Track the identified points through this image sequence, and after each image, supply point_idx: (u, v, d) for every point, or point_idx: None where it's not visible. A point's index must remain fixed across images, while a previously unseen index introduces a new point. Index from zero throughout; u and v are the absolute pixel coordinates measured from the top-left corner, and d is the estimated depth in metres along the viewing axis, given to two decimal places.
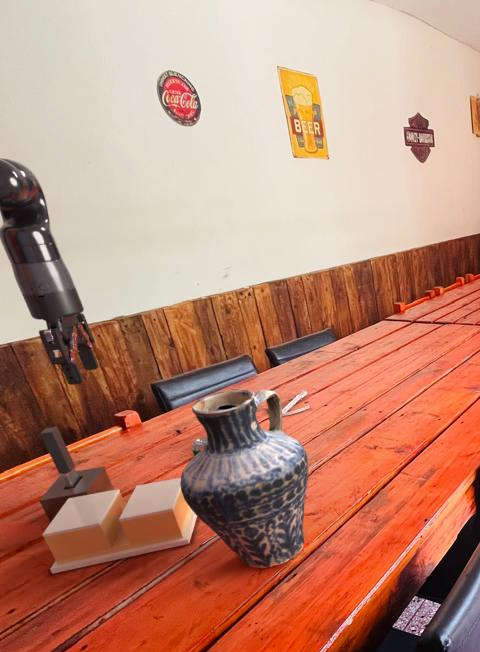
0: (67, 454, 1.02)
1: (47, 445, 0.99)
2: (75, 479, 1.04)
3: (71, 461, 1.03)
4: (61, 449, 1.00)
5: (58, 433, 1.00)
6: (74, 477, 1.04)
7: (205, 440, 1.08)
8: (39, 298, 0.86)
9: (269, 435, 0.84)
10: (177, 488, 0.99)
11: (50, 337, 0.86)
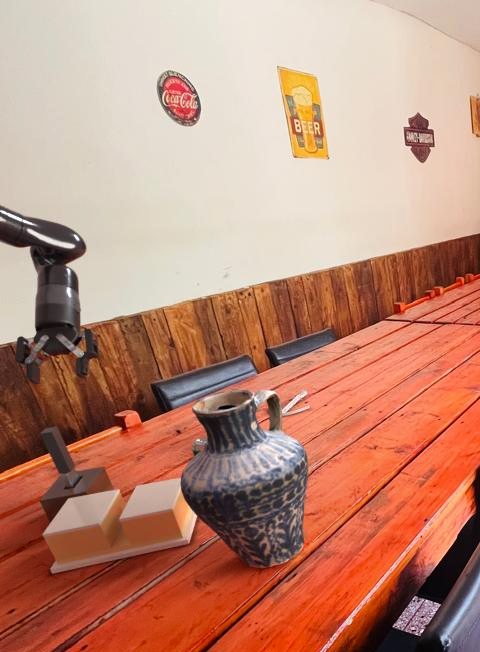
0: (67, 454, 1.02)
1: (47, 445, 0.99)
2: (75, 479, 1.04)
3: (71, 461, 1.03)
4: (61, 449, 1.00)
5: (58, 433, 1.00)
6: (74, 477, 1.04)
7: (205, 440, 1.08)
8: (76, 312, 1.10)
9: (269, 435, 0.84)
10: (177, 488, 0.99)
11: (94, 336, 1.09)
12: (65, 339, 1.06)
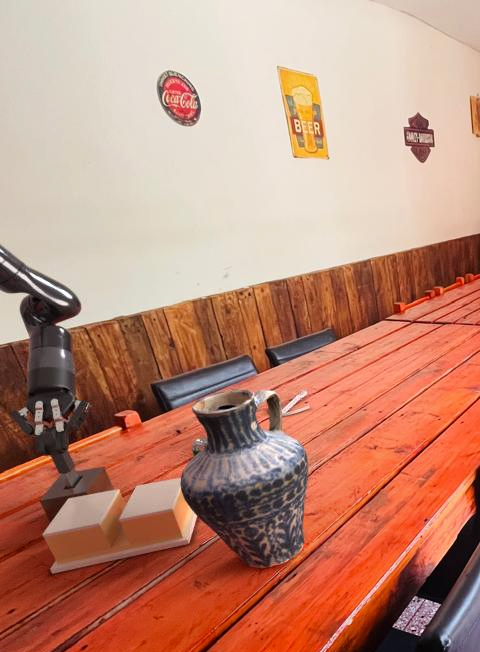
0: (67, 454, 1.02)
1: (47, 445, 0.99)
2: (75, 479, 1.04)
3: (71, 461, 1.03)
4: None
5: None
6: (74, 477, 1.04)
7: (205, 440, 1.08)
8: (72, 375, 1.04)
9: (269, 435, 0.84)
10: (177, 488, 0.99)
11: (87, 409, 1.03)
12: (57, 407, 1.01)
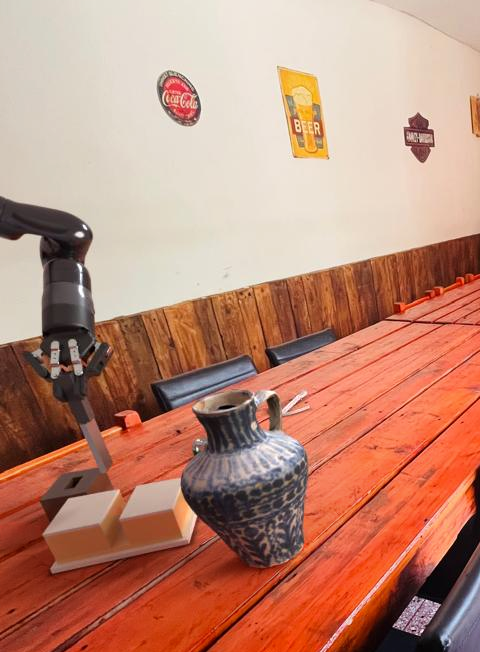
0: (86, 402, 0.91)
1: (64, 390, 0.88)
2: (95, 431, 0.93)
3: (91, 410, 0.92)
4: None
5: None
6: (94, 429, 0.93)
7: (205, 440, 1.08)
8: (91, 315, 0.93)
9: (269, 435, 0.84)
10: (177, 488, 0.99)
11: (109, 352, 0.92)
12: (75, 348, 0.89)
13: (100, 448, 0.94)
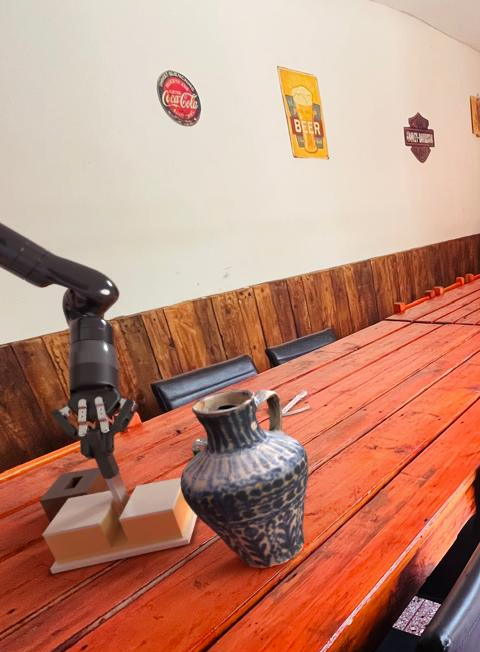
0: (112, 457, 0.94)
1: (91, 448, 0.91)
2: (119, 484, 0.96)
3: (116, 465, 0.95)
4: None
5: None
6: (118, 482, 0.96)
7: (205, 440, 1.08)
8: (116, 371, 0.96)
9: (269, 435, 0.84)
10: (177, 488, 0.99)
11: (133, 408, 0.95)
12: (102, 406, 0.92)
13: (124, 500, 0.97)
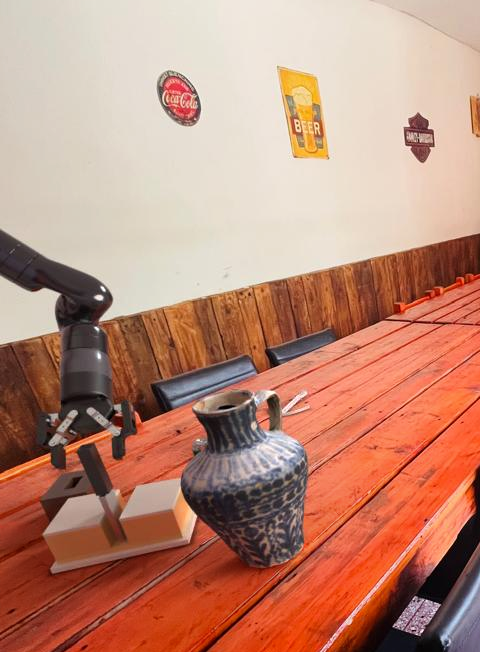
0: (105, 474, 0.90)
1: (83, 465, 0.87)
2: (113, 501, 0.92)
3: (109, 481, 0.91)
4: (99, 468, 0.88)
5: (96, 450, 0.88)
6: (112, 499, 0.92)
7: (205, 440, 1.08)
8: (109, 380, 0.92)
9: (269, 435, 0.84)
10: (177, 488, 0.99)
11: (132, 409, 0.92)
12: (98, 414, 0.89)
13: (118, 518, 0.93)
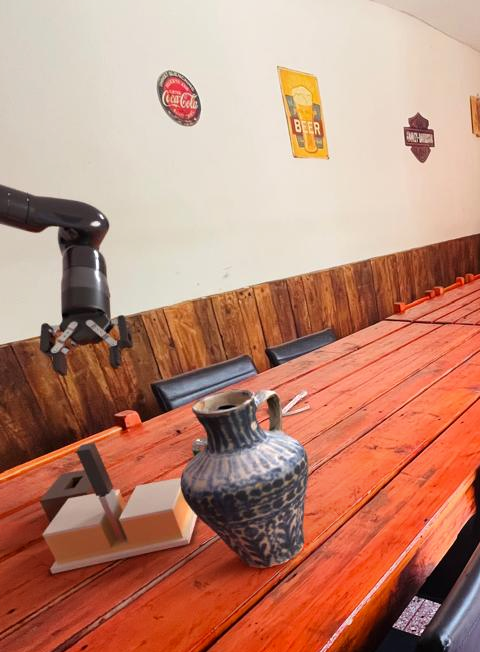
0: (105, 474, 0.90)
1: (83, 465, 0.87)
2: (113, 501, 0.92)
3: (109, 481, 0.91)
4: (99, 468, 0.88)
5: (96, 450, 0.88)
6: (112, 499, 0.92)
7: (205, 440, 1.08)
8: (107, 298, 1.00)
9: (269, 435, 0.84)
10: (177, 488, 0.99)
11: (127, 324, 0.99)
12: (96, 326, 0.96)
13: (118, 518, 0.93)
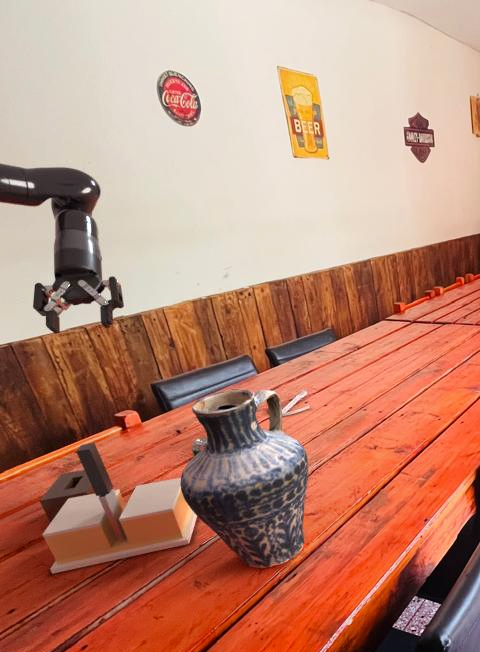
0: (105, 474, 0.90)
1: (83, 465, 0.87)
2: (113, 501, 0.92)
3: (109, 481, 0.91)
4: (99, 468, 0.88)
5: (96, 450, 0.88)
6: (112, 499, 0.92)
7: (205, 440, 1.08)
8: (98, 260, 1.03)
9: (269, 435, 0.84)
10: (177, 488, 0.99)
11: (118, 285, 1.02)
12: (88, 286, 0.99)
13: (118, 518, 0.93)
